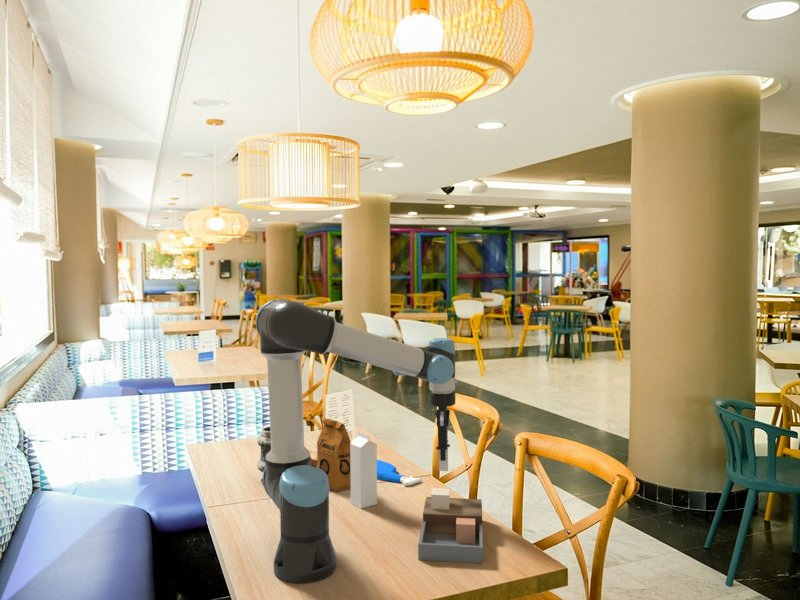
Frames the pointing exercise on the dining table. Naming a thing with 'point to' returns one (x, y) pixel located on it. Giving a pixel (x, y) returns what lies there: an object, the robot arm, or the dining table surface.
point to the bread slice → (313, 458)
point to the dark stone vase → (264, 448)
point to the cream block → (440, 498)
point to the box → (449, 547)
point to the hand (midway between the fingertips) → (443, 469)
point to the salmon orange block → (465, 530)
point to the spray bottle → (393, 474)
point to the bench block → (451, 515)
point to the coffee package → (334, 454)
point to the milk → (363, 471)
